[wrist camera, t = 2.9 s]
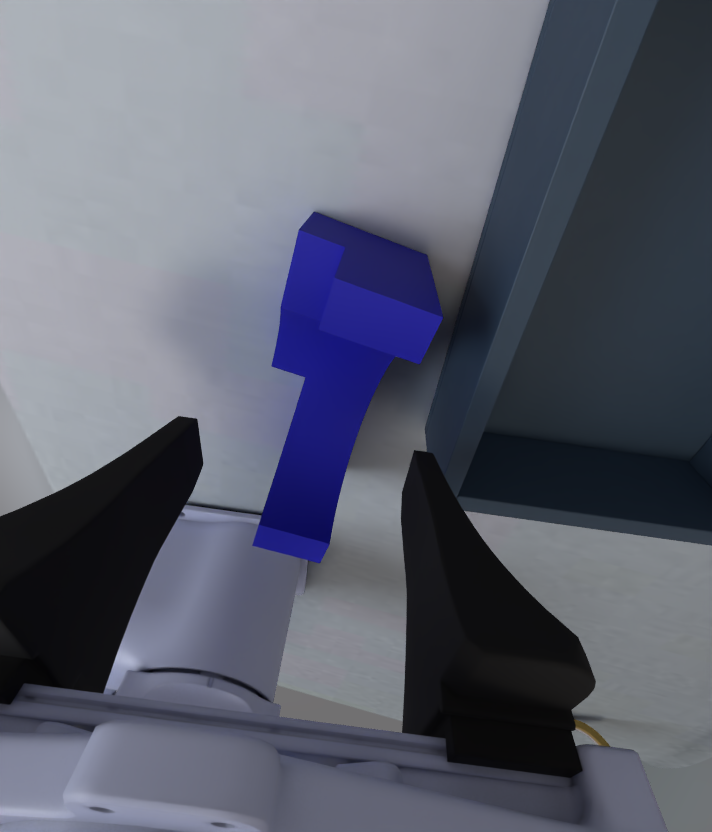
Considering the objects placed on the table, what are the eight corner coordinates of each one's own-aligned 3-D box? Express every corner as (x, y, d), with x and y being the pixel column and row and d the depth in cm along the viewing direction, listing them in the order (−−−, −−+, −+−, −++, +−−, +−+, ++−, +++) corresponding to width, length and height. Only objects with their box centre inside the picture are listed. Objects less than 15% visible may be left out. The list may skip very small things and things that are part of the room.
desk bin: (424, 428, 20) (432, 507, 16) (587, -130, 10) (726, -307, 6) (687, 466, 21) (761, 553, 16) (1119, -39, 10) (1612, -146, 6)
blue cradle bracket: (314, 211, 15) (276, 256, 10) (427, 255, 15) (443, 317, 11) (255, 443, 22) (217, 536, 17) (335, 467, 22) (319, 563, 18)
